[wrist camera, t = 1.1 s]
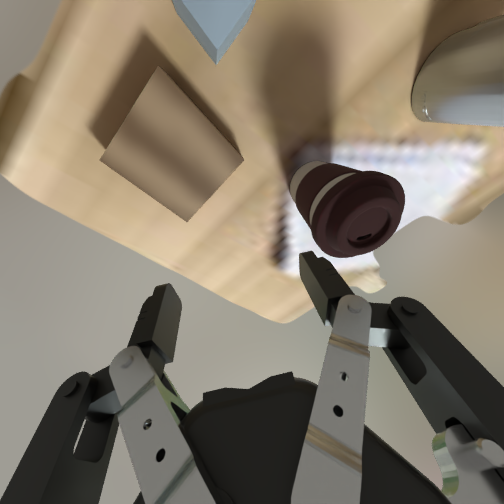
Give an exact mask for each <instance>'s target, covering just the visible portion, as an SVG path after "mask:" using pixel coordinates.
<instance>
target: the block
mask: <svg viewBox="0 0 504 504" xmlns="http://www.w3.org/2000/svg"><path fill="white" fill-rule="evenodd" d="M172 1H173V4H174V7H175V9H176V12H177V14H178V15H179V17H180V18H181V19H182V21H183V22H184V23H185V25H186V26H187V27H188V29H189V30H190V31H191V33H192V34H193V35H194V37H195V38H196V39H197V41H198V42H199V43H200V45H201V46H202V47H203V49H204V50H205V51H206V52H207V54H208V55H209V56H210V58H211V59H212V60H213V62H214V63H215V64H216V65H217V63H218V62H219V61H220V59H221V58H222V56H223V55H224V54H225V52H226V51H227V49H228V48H229V47H230V45H231V44H232V42H233V41H234V40H235V38H236V37H237V35H238V34H239V33H240V31H241V30H242V29H243V27H244V26H245V24H246V23H247V22H248V20H249V17H250V15H251V12H252V10H253V7H254V5H255V2H256V0H172Z"/></svg>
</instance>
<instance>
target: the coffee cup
mask: <svg viewBox="0 0 504 504" xmlns="http://www.w3.org/2000/svg"><path fill="white" fill-rule="evenodd" d="M290 194H291V197H292V199H293V201H294V202H295V204H296V206H297V209H298V211H299V212H300V214H301V215H302V217H303V218H304V220H305V221H306V223H307V224H308V226H309V228H310V229H311V232H312V236H313V239H314V241H315V242H316V244H317V245H318V246H319V247H320V249H321V250H322V251H323V252H324V253H326V254H328V255H330V256H333V257H337V258H348V257H353V256H357V255H361V254H366V253H368V252H371V251H373V250H375V249H377V248H378V247H380V246H381V245H383V244H384V243H385V242H386V241H387V240H388V239H389V238H390V237H391V236H392V235H393V234H394V232H395V231H396V229H397V227H398V225H399V223H400V220H401V215H402V212H403V210H404V205H405V194H404V190H403V188H402V186H401V184H400V183H399V182H398V181H397V180H396V179H395V178H393V177H391V176H389V175H386V174H383V173H381V172H377V171H359V170H356V169H352V168H349V167H345V166H342V165H338V164H334V163H325V162H322V161H312V162H309V163H306V164H305V165H303V166H302V167H300V168H299V169H298V170H297V171H296V173H295V174H294V176H293V178H292V181H291V184H290Z"/></svg>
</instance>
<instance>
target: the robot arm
mask: <svg viewBox="0 0 504 504" xmlns="http://www.w3.org/2000/svg"><path fill="white" fill-rule="evenodd" d="M412 109H413V112H414V114H415V116H416V117H417V118H418V119H419V120H421V121H423V122H435V123H450V124H466V125H483V126H500V127H504V15H501V16H498V17H495V18H492V19H489V20H486V21H483V22H480V23H478V24H477V25H476V26H475V27H472V28H469V29H466V30H463V31H460V32H458V33H455V34H453V35H451V36H450V37H448V38H447V39H445V40H444V41H443V42H442V43H441V44H440V45H439V46H438V47H436V49H435V50H434V51H433V52H432V53H431V55H430V56H429V57H428V59H427V60H426V62H425V63H424V65H423V66H422V68H421V70H420V72H419V74H418V76H417V79H416V82H415V85H414V88H413V93H412ZM299 269H300V276H301V280H302V282H303V284H304V286H305V288H306V290H307V292H308V294H309V296H310V298H311V300H312V302H313V304H314V306H315V308H316V309H317V312H318V314H319V316H320V317H321V319H322V321H323V323H324V325H325V326H328V325H331V326H332V328H333V329H332V332H331V336H330V339H329V342H328V346H327V351H326V355H325V360H324V363H323V368H322V371H321V376H320V380H319V384H318V385H317V384H315V383H313V382H311V381H308V380H306V379H302V378H295V377H293V373H292V372H287V373H283V374H279V375H276V376H271V377H269V378H267V379H265V380H264V381H262V382H260V383H259V384H257V385H255V386H253V387H252V388H250V389H237V388H222V389H218V390H213V391H209V392H206V393H203V401H201V402H200V403H198V404H197V405H196V406H195V407H193V408H192V409H191V410H190V409H189V408H188V407H187V405H186V404H185V403H184V402H183V401H182V399H181V398H180V396H179V394H178V393H177V391H176V390H175V388H174V386H173V384H172V383H171V381H170V380H169V378H168V376H167V374H166V373H165V372H164V366H165V364H167V363H171V362H173V358H174V352H175V346H176V340H177V334H178V328H179V322H180V316H181V310H182V304H181V300H180V298H179V296H178V295H177V293H176V292H175V290H174V288H173V287H172V285H171V284H170V283H168V284H163V285H159V286H156V287H155V289H154V292H153V295H152V296H150V297H148V299H147V300H146V301H145V302H144V304H143V305H142V308H141V311H140V314H139V316H138V321H137V322H136V324H135V327H134V330H133V333H132V335H131V338H130V341H129V343H128V346H127V348H125V349H123V350H122V351H121V352H119V353H118V354H117V355H116V357H115V358H114V359H113V361H112V362H111V364H110V365H109V366H108V367H106V368H104V369H102V370H100V371H98V372H96V373H95V374H93V375H90V374H89V373H87V372H79V373H76V374H75V375H73V376H71V377H70V378H68V379H67V380H66V381H65V382H64V383H63V384H62V385H61V386H60V387H59V389H58V390H57V392H56V393H55V395H54V397H53V399H52V401H51V403H50V405H49V407H48V409H47V411H46V413H45V414H44V417H43V418H42V420H41V422H40V424H39V426H38V428H37V430H36V432H35V434H34V436H33V438H32V440H31V442H30V444H29V446H28V448H27V449H26V451H25V453H24V455H23V457H22V459H21V461H20V463H19V465H18V467H17V469H16V471H15V473H14V475H13V477H12V479H11V481H10V482H9V485H8V486H7V489H6V490H5V492H4V494H3V496H2V498H1V500H0V504H98V503H99V500H100V496H101V492H102V488H103V484H104V480H105V476H106V473H107V468H108V465H109V461H110V457H111V453H112V450H113V446H114V442H115V438H116V434H117V430H118V426H119V424H120V427H121V430H122V434H123V436H124V440H125V443H126V446H127V449H128V452H129V455H130V458H131V461H132V464H133V467H134V470H135V473H136V477H137V480H138V483H139V485H140V489H141V492H140V493H139V495H138V497H137V499H136V500H135V502H134V503H133V504H504V387H503V386H502V385H501V384H500V383H499V382H498V381H497V380H496V379H495V378H494V377H493V376H492V375H491V374H490V373H489V372H488V371H487V370H486V369H485V368H484V367H483V365H482V364H481V363H480V362H479V361H478V360H476V359H475V357H474V356H472V354H471V353H470V352H469V351H468V350H467V349H466V348H465V347H464V346H463V345H462V344H461V343H460V342H459V341H458V340H457V339H456V338H455V337H454V336H453V335H452V334H451V333H450V332H449V331H448V329H447V328H446V327H445V326H444V325H443V324H442V323H441V322H440V321H439V320H438V319H437V318H436V317H435V316H434V315H433V314H432V313H431V312H430V311H429V310H428V309H427V308H426V307H425V306H424V305H423V304H422V303H420V302H419V301H417V300H415V299H412V298H408V297H397V298H395V299H393V300H392V301H391V304H383V303H370V302H367V301H366V300H365V299H363V298H362V297H360V296H357V295H355V294H354V293H353V292H352V290H351V289H350V288H349V286H348V285H347V284H346V282H345V281H344V280H343V278H342V277H341V276H340V274H338V272H337V270H336V269H335V268H334V266H333V265H332V264H331V262H330V261H328V260H327V259H325V258H324V257H320V258H317V257H316V255H315V254H314V252H313V251H308V252H304V253H300V254H299ZM368 346H378V347H382V348H383V350H384V351H385V353H386V354H387V356H388V357H389V359H390V361H391V362H392V364H393V366H394V367H395V369H396V370H397V372H398V374H399V375H400V377H401V378H402V380H403V382H404V383H405V384H406V386H407V388H408V390H409V391H410V393H411V394H412V396H413V397H414V399H415V401H416V402H417V404H418V405H419V407H420V409H421V410H422V412H423V413H424V415H425V417H426V418H427V420H428V421H429V423H430V424H431V426H432V427H433V429H434V431H435V432H436V435H435V436H434V438H433V440H432V449H433V453H434V456H435V459H436V461H437V463H438V465H439V467H440V470H441V473H442V477H443V487H442V491H441V490H439V488H438V487H436V486H435V484H434V483H433V482H431V481H430V480H429V479H428V478H427V477H426V476H424V475H423V474H422V473H421V472H420V471H419V470H417V469H416V468H415V467H414V466H413V465H412V464H410V463H409V462H408V461H407V460H406V459H404V458H403V457H402V456H401V455H400V454H399V453H398V452H396V451H395V450H394V449H393V448H392V447H391V446H389V445H388V444H387V443H386V442H384V441H383V440H382V439H381V438H380V437H379V436H378V435H376V434H375V433H374V432H373V431H372V430H370V429H369V428H368V427H367V426H366V425H365V424H364V419H365V408H366V396H367V384H368V372H369V360H370V352H369V350H368ZM84 419H86V423H85V425H84V428H83V431H82V434H81V436H80V439H79V441H78V444H77V447H76V450H75V452H74V454H73V451H74V450H73V449H74V446H75V443H76V440H77V437H78V435H79V432H80V430H81V427H82V424H83V421H84Z"/></svg>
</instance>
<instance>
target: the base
mask: <svg viewBox="0 0 504 504" xmlns="http://www.w3.org/2000/svg"><path fill="white" fill-rule="evenodd" d="M100 161H101V162H103V163H104V164H106V165H107V166H108V167H110V168H111V169H113V170H114V171H115V172H117V173H118V174H120V175H121V176H123V177H124V178H125V179H127V180H128V181H130V182H131V183H132V184H134V185H135V186H137V187H138V188H139V189H141V190H142V191H144V192H145V193H147V194H148V195H149V196H151V197H152V198H154V199H155V200H156V201H158V202H159V203H161V204H162V205H163V206H165V207H166V208H168V209H169V210H171V211H172V212H173V213H175V214H176V215H178V216H179V217H180V218H182V219H183V220H185V221H186V222H188V221H189V220H190V219H191V217H192V216H193V215H194V214H195V213H196V212H197V211H198V210H199V209H200V208H201V207H202V205H203V204H204V203H205V202H206V201H207V200H208V199H209V198H210V197H211V196H212V195H213V194H214V192H215V191H216V190H217V189H218V188H219V187H220V186H221V185H222V184H223V183H224V182H225V180H226V179H227V178H228V177H229V176H230V175H231V174H232V173H233V172H234V171H235V170H236V168H237V167H238V166H239V165H240V164H241V163H242V162H243V161H244V159H243V157H242V156H241V155H240V153H239V152H238V151H237V150H236V149H235V148H234V147H233V146H232V145H231V143H230V142H229V141H228V140H227V139H226V138H225V137H224V136H223V135H222V134H221V132H220V131H219V130H218V129H217V128H216V127H215V126H214V125H213V124H212V122H211V121H210V120H209V119H208V118H207V117H206V116H205V115H204V114H203V113H202V111H201V110H200V109H199V108H198V107H197V106H196V105H195V104H194V103H193V101H192V100H191V99H190V98H189V97H188V96H187V95H186V94H185V93H184V92H183V90H182V89H181V88H180V87H179V86H178V85H177V84H176V83H175V82H174V80H173V79H172V78H171V77H170V76H169V75H168V74H167V73H166V72H165V71H164V70H163V69H162V68H161V67H160V66H158V67H157V68H156V70H155V71H154V73H153V75H152V76H151V78H150V79H149V81H148V83H147V84H146V86H145V88H144V89H143V91H142V92H141V94H140V96H139V97H138V99H137V100H136V102H135V104H134V105H133V107H132V109H131V110H130V112H129V113H128V115H127V117H126V118H125V120H124V121H123V123H122V125H121V126H120V128H119V130H118V131H117V133H116V134H115V136H114V138H113V139H112V141H111V142H110V144H109V146H108V147H107V149H106V151H105V152H104V154H103V155H102V157H101V159H100Z"/></svg>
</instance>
